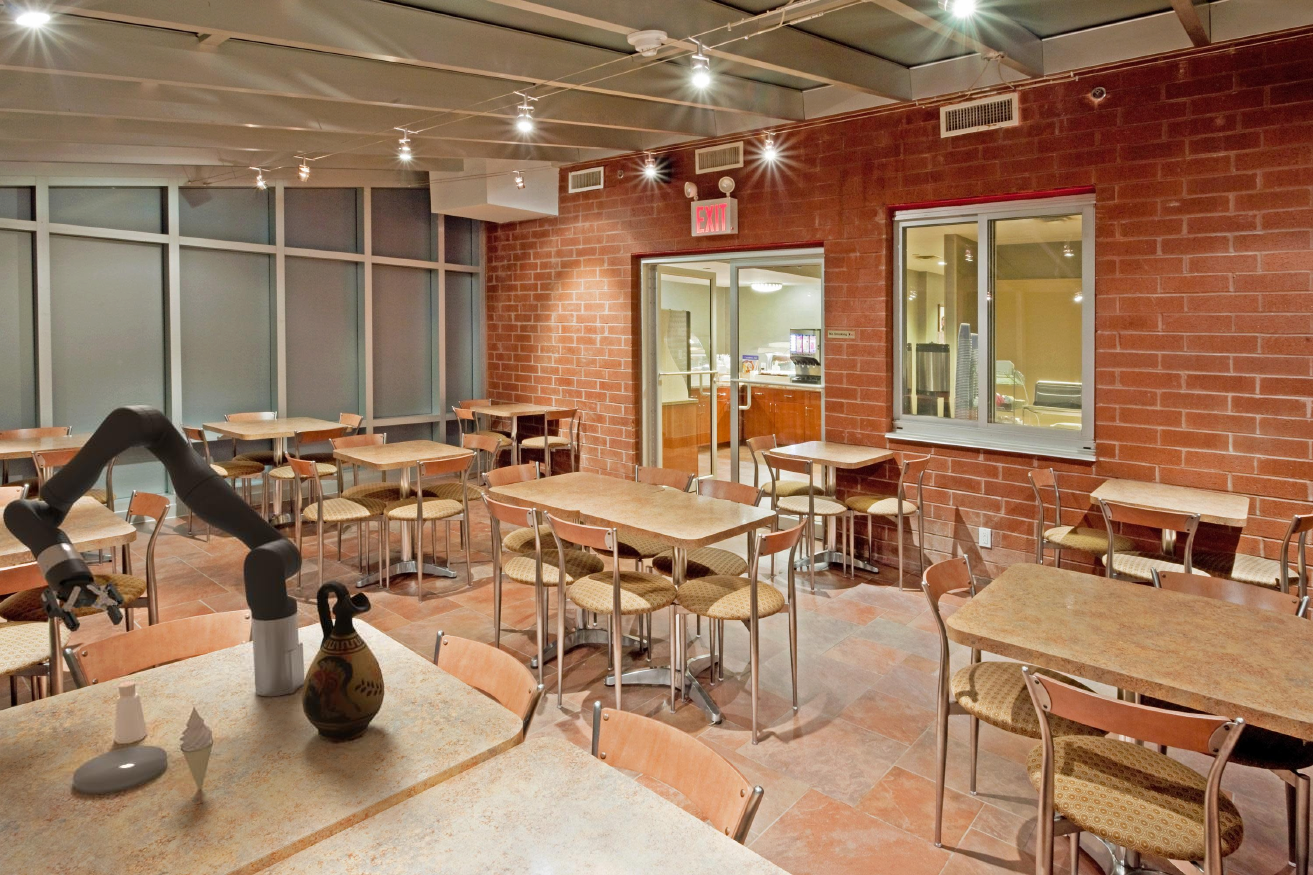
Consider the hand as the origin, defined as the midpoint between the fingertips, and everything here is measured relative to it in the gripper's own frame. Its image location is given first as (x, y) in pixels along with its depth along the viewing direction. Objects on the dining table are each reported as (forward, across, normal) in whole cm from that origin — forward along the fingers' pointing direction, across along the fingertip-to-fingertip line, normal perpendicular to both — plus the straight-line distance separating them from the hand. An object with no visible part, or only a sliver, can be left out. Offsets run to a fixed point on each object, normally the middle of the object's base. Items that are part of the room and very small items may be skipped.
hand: (98, 625), depth 167 cm
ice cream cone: (+49, -10, -13) cm, 51 cm away
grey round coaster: (+35, -12, -2) cm, 37 cm away
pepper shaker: (+25, -3, +4) cm, 26 cm away
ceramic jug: (+51, +16, -20) cm, 57 cm away
